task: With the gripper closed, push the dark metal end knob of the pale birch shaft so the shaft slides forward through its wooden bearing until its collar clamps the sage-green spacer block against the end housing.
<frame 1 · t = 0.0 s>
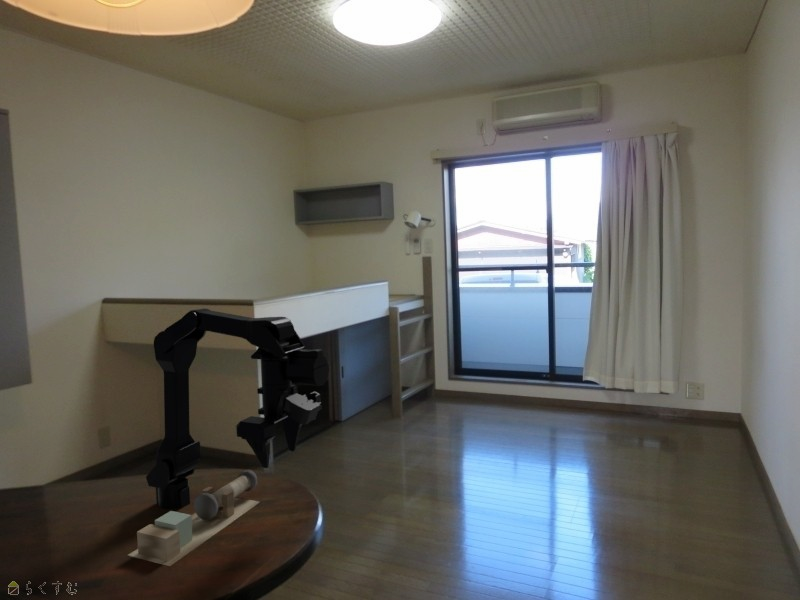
hand: (279, 458, 107), 14 cm above the table, fingers open, 9 cm apart
shaft: (228, 492, 116), point 4 cm above the table, slide at 6.0 cm
spacer: (174, 543, 102), point 1 cm above the table, touching bench
bench: (200, 529, 108), on the table
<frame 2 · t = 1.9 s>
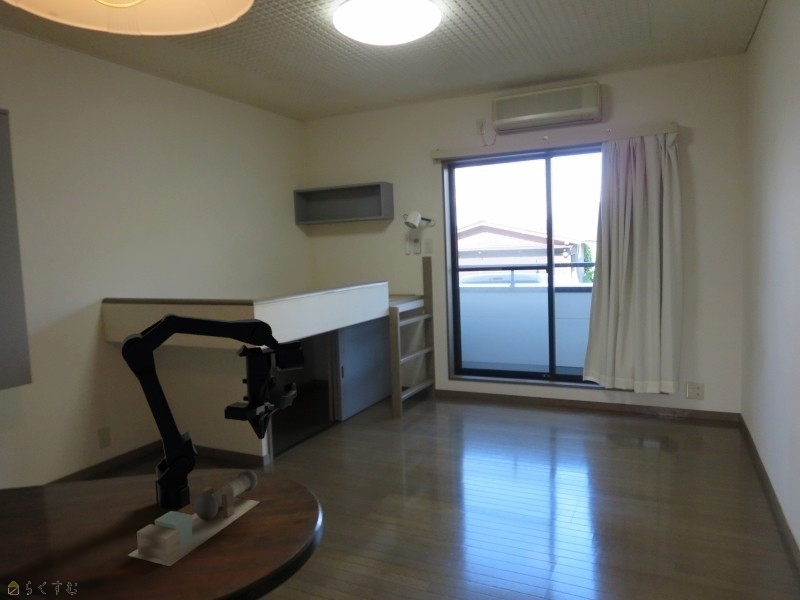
hand: (261, 438, 127), 12 cm above the table, fingers closed
nothing on the table moved.
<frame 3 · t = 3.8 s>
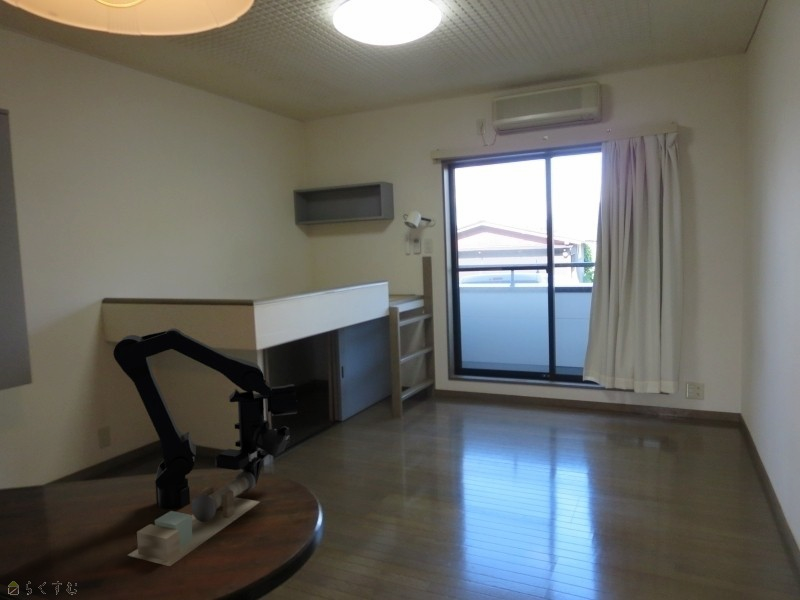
hand: (253, 484, 125), 2 cm above the table, fingers closed
shaft: (225, 494, 115), point 4 cm above the table, slide at 5.3 cm, touching gripper
everything else where it was.
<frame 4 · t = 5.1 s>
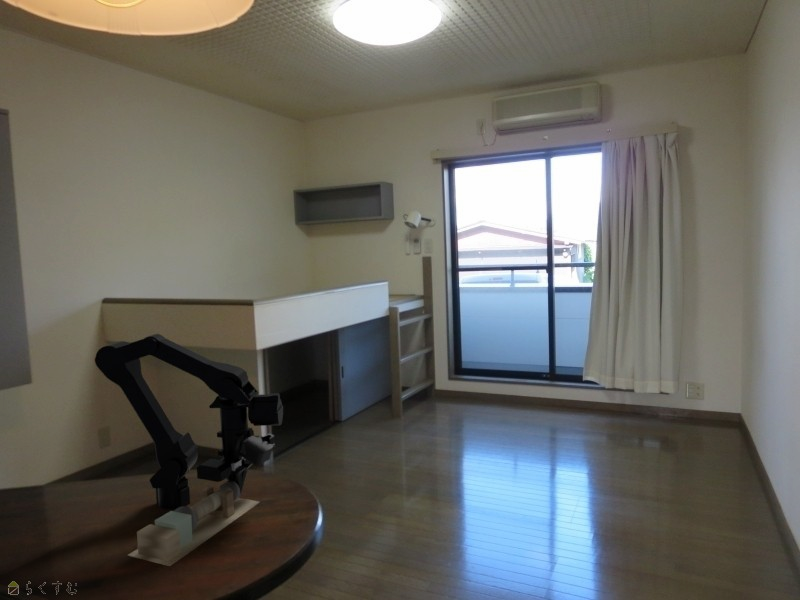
hand: (238, 493, 119), 2 cm above the table, fingers closed
shaft: (208, 505, 110), point 4 cm above the table, slide at -0.1 cm, touching gripper
everything else where it was.
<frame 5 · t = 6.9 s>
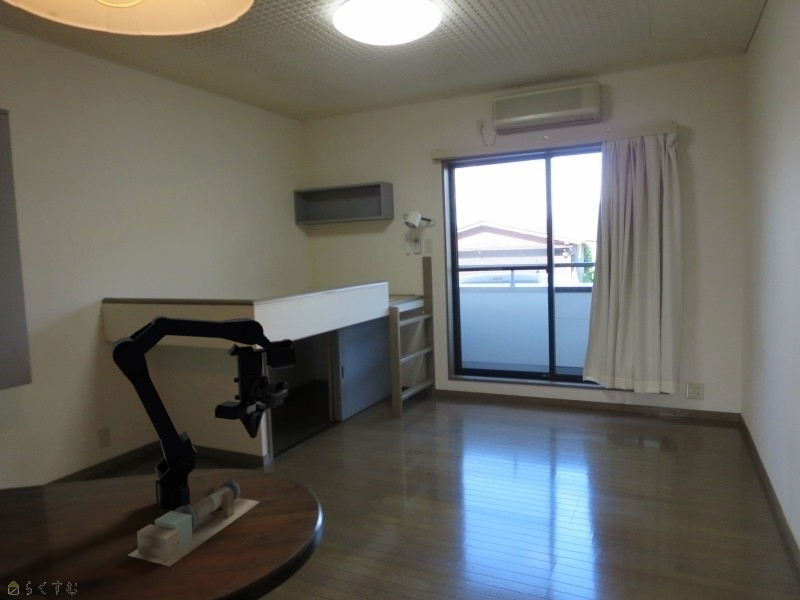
hand: (253, 437, 127), 12 cm above the table, fingers closed
shaft: (208, 504, 110), point 4 cm above the table, slide at 0.0 cm
everything else where it was.
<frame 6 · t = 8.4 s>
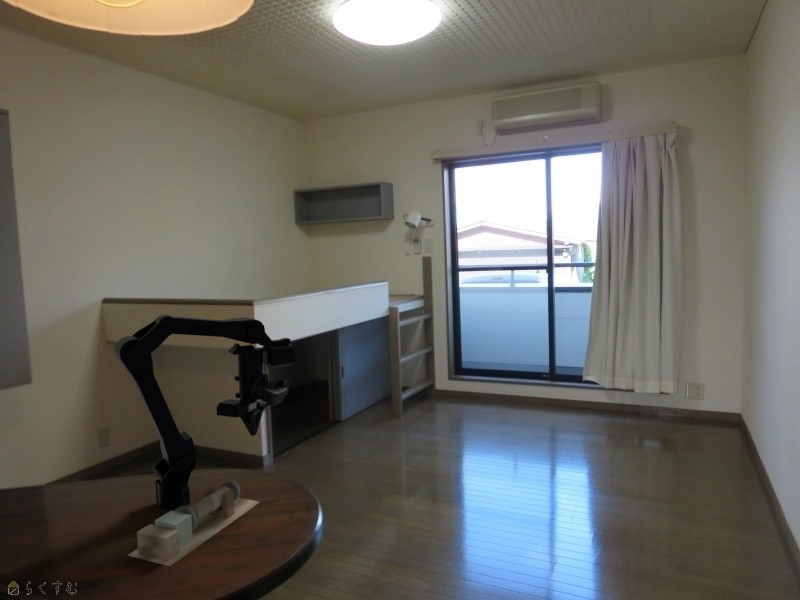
hand: (253, 435, 129), 12 cm above the table, fingers closed
nothing on the table moved.
at the end: shaft slide at 0.0 cm; spacer moved 0.0 cm from its start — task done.
